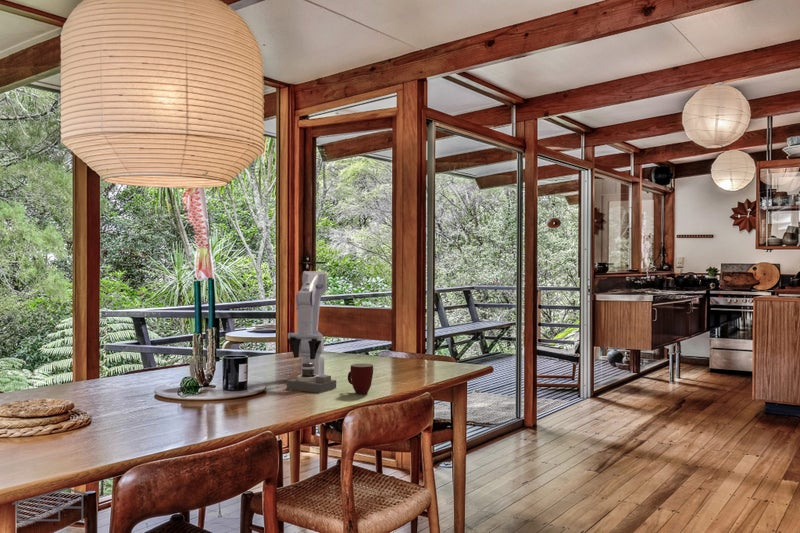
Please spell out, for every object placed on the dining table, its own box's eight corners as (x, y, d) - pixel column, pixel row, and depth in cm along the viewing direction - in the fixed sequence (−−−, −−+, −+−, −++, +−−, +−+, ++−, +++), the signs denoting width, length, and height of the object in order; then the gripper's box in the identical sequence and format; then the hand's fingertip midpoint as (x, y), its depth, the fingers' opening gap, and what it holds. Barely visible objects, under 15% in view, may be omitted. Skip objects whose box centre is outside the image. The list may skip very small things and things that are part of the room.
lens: (306, 378, 234) (306, 361, 234) (316, 379, 232) (316, 362, 232) (299, 380, 230) (299, 363, 230) (310, 381, 228) (310, 364, 228)
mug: (340, 393, 223) (340, 364, 223) (353, 389, 230) (353, 362, 230) (364, 396, 217) (364, 367, 217) (377, 392, 224) (377, 364, 224)
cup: (197, 388, 227) (197, 361, 227) (184, 386, 232) (184, 359, 232) (216, 385, 234) (216, 358, 234) (203, 383, 239) (203, 356, 239)
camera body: (303, 384, 238) (303, 371, 238) (336, 388, 232) (336, 374, 232) (286, 388, 230) (286, 375, 230) (320, 393, 223) (320, 378, 223)
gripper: (282, 322, 238) (282, 358, 238) (314, 324, 231) (314, 361, 231) (294, 320, 244) (293, 355, 244) (325, 322, 238) (324, 358, 238)
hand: (304, 358), depth 238 cm, fingers open, 7 cm apart
